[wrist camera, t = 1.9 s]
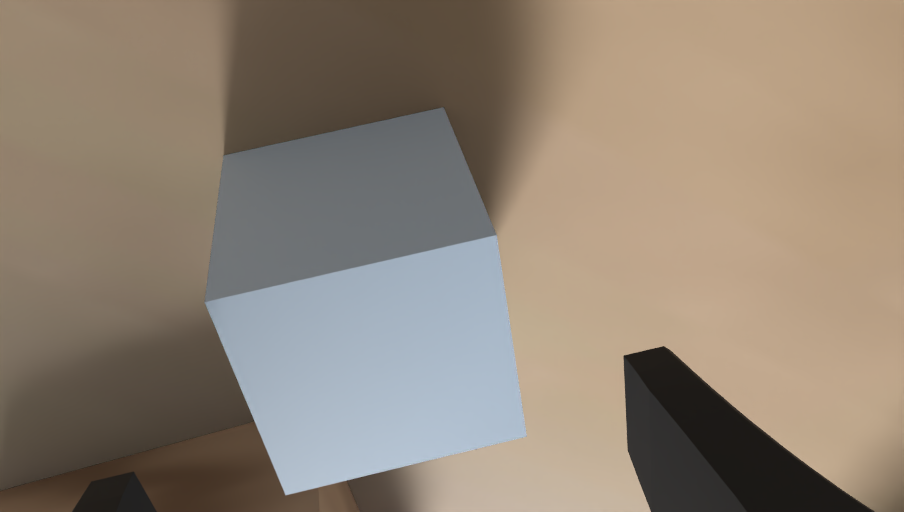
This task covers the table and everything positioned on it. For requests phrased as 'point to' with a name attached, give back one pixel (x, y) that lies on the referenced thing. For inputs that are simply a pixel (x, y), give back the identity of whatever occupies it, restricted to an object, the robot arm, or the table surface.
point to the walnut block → (190, 480)
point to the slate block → (363, 301)
